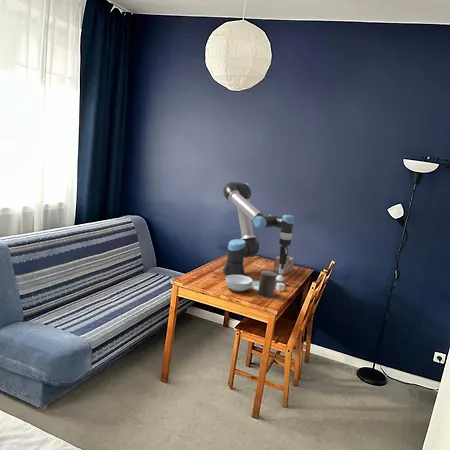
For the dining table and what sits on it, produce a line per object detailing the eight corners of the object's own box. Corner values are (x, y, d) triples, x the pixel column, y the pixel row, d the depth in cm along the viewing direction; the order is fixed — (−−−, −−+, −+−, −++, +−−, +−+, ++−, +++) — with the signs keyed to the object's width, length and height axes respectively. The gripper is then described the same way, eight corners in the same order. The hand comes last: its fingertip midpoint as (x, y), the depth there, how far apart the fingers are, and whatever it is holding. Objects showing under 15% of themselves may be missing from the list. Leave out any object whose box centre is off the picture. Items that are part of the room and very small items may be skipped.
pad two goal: (250, 285, 268) (250, 285, 268) (248, 281, 277) (248, 280, 277) (264, 286, 269) (264, 286, 269) (261, 282, 278) (262, 281, 278)
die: (278, 291, 264) (279, 285, 264) (275, 288, 268) (276, 282, 267) (284, 290, 266) (285, 284, 265) (281, 288, 269) (282, 282, 269)
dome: (276, 282, 275) (277, 276, 274) (275, 280, 280) (275, 273, 279) (283, 283, 275) (284, 276, 274) (282, 280, 280) (283, 274, 279)
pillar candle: (261, 297, 250) (264, 273, 247) (255, 291, 259) (259, 268, 256) (276, 297, 253) (279, 273, 250) (270, 291, 262) (273, 268, 259)
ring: (257, 297, 249) (257, 296, 249) (254, 289, 261) (254, 289, 261) (278, 298, 250) (278, 298, 250) (274, 291, 263) (274, 290, 263)
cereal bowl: (223, 283, 266) (224, 273, 265) (249, 285, 268) (250, 275, 266) (225, 293, 250) (226, 282, 248) (252, 295, 251) (254, 284, 250)
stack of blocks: (285, 267, 318) (287, 252, 316) (292, 270, 315) (295, 254, 312) (272, 273, 300) (275, 257, 298) (280, 275, 297) (283, 259, 294)
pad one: (255, 290, 260) (255, 290, 260) (253, 286, 268) (253, 285, 268) (269, 291, 261) (269, 291, 261) (266, 287, 269) (266, 286, 269)
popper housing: (275, 285, 274) (275, 282, 274) (272, 281, 281) (273, 278, 280) (285, 286, 275) (285, 282, 274) (283, 282, 282) (283, 279, 281)
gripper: (293, 241, 266) (288, 276, 270) (288, 236, 279) (284, 270, 283) (282, 240, 265) (277, 275, 269) (277, 236, 278) (273, 269, 282)
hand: (281, 273), depth 276 cm, fingers closed
